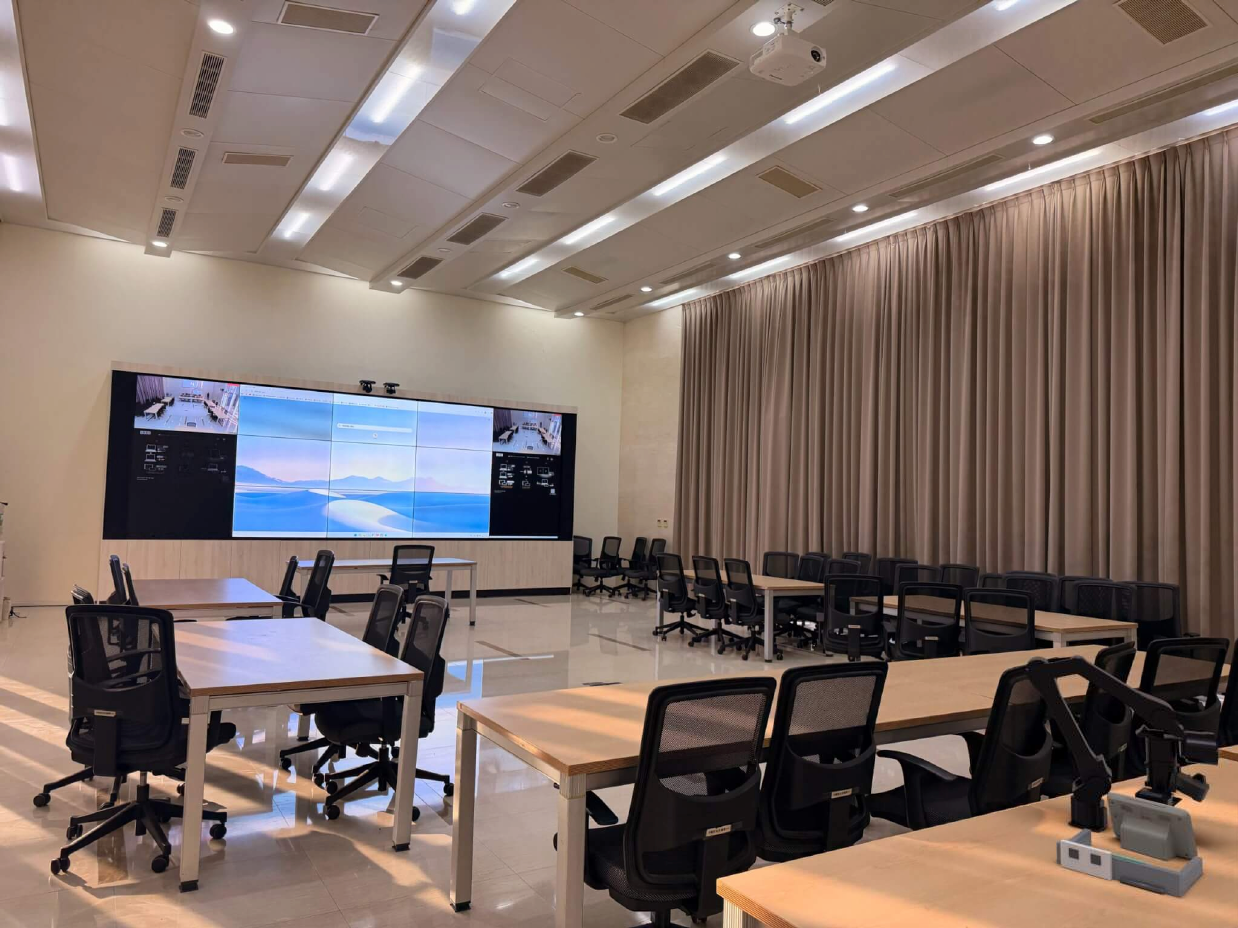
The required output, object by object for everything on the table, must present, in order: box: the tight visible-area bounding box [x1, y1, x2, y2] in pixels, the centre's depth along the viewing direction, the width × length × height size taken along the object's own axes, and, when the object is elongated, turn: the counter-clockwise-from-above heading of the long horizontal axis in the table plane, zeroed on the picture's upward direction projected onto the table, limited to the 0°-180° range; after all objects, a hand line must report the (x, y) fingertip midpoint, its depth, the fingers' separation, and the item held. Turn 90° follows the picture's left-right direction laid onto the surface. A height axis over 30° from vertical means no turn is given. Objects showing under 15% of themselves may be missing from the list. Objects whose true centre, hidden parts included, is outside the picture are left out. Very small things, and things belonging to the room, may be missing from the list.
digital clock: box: [1106, 791, 1199, 862], centre depth 178 cm, size 16×9×11 cm, turn 25°
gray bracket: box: [1056, 828, 1204, 898], centre depth 168 cm, size 21×18×5 cm
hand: (1164, 830), depth 185 cm, fingers closed
